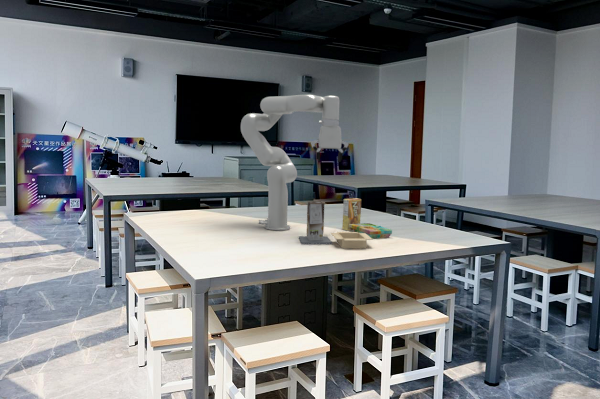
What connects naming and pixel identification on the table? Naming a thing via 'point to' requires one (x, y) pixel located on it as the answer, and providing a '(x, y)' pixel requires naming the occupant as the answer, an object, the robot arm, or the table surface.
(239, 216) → the table surface
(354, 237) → the carton
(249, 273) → the table surface
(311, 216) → the coffee box
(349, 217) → the candy box
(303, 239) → the mat
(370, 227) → the puzzle game
